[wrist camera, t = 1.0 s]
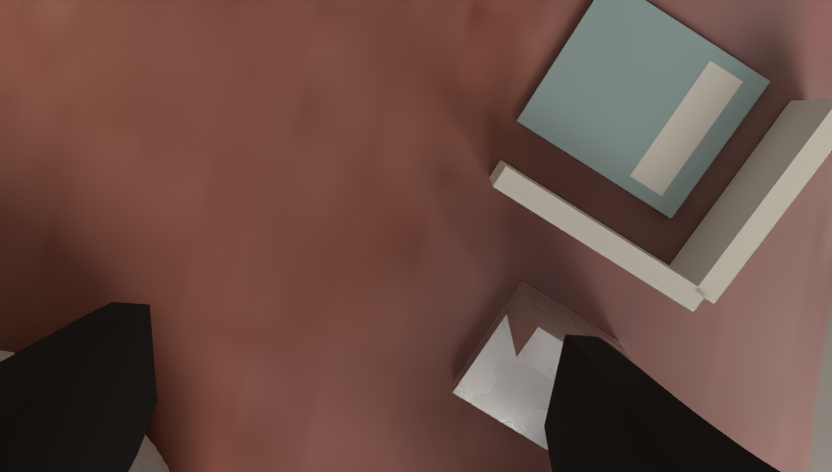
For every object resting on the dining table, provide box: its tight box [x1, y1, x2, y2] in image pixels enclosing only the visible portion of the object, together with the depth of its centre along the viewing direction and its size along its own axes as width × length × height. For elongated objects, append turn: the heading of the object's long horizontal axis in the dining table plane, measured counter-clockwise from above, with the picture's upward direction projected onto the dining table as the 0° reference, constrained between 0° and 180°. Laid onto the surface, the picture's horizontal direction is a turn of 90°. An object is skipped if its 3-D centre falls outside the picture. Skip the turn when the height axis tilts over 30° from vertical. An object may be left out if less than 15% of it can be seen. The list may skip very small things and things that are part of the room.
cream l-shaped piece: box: [489, 99, 832, 312], centre depth 22 cm, size 8×8×3 cm
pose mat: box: [516, 0, 771, 219], centre depth 23 cm, size 7×6×1 cm
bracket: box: [453, 281, 633, 450], centre depth 22 cm, size 5×4×6 cm
